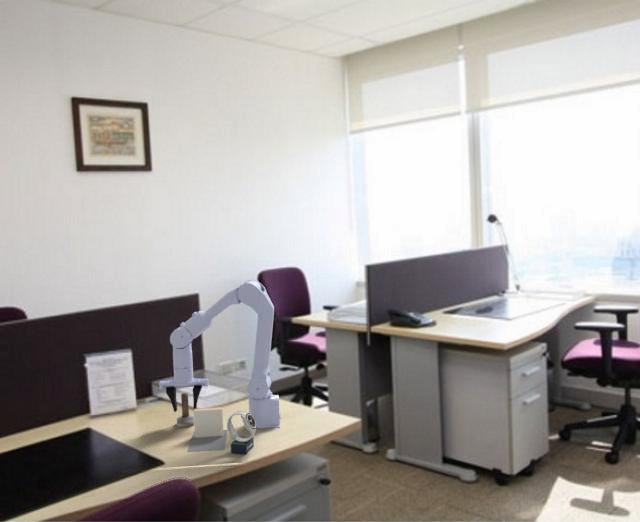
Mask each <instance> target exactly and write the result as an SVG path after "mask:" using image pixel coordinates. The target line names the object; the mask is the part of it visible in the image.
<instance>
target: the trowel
mask: <svg viewBox="0 0 640 522" xmlns="http://www.w3.org/2000/svg"><path fill="white" fill-rule="evenodd" d="M180 399H181V413H182V414H179V415H177V416H176V427H178V428H179V427H191V426H192V427H193V426H194V427H195V423H194V413H193V414H192V413H191V414H190V412H189V411H190V410H189V393H187V392H183V393H181V395H180Z"/></svg>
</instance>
